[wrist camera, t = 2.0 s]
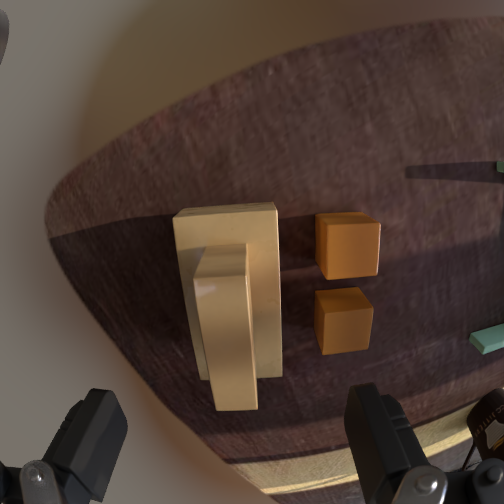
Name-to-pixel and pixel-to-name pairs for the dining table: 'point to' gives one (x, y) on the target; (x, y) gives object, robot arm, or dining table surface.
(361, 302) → the crumb
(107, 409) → the robot arm
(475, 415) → the coffee mug
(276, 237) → the stepped wooden block
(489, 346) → the green u-shaped pusher
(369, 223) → the crumb
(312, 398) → the dining table surface
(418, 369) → the dining table surface
